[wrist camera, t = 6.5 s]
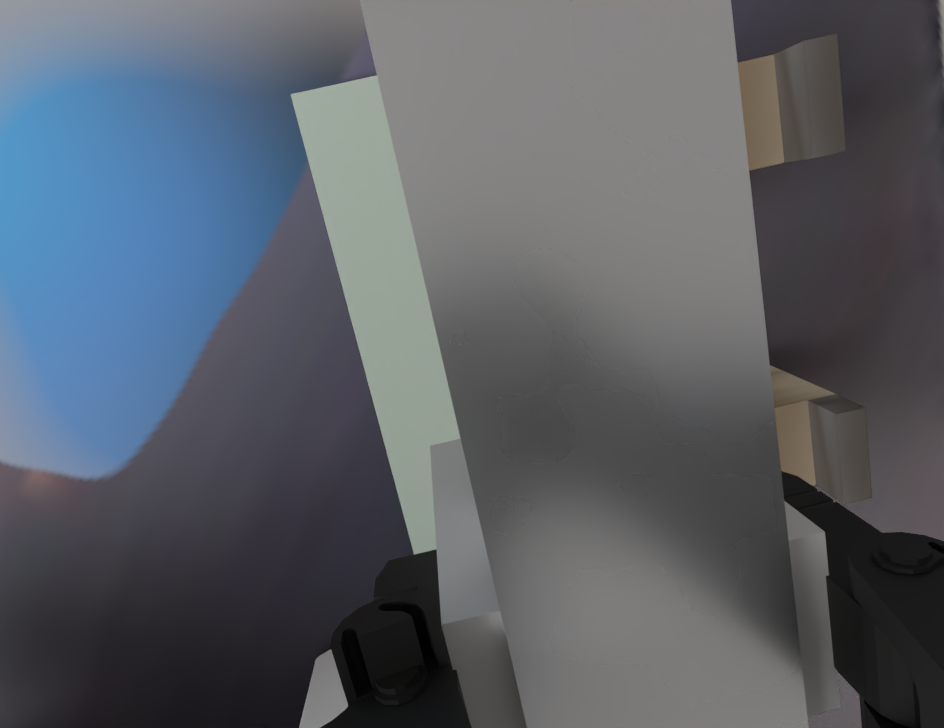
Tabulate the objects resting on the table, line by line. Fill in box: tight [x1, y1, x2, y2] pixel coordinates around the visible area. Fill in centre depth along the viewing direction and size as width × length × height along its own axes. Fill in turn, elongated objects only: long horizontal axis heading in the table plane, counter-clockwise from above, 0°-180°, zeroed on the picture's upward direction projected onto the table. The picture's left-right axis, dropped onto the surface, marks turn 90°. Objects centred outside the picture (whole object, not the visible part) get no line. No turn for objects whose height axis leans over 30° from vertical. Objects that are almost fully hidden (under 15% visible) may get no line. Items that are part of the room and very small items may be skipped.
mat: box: [291, 75, 461, 554], centre depth 35 cm, size 12×26×1 cm, turn 12°
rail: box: [360, 0, 809, 728], centre depth 10 cm, size 22×4×4 cm, turn 12°
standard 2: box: [738, 34, 846, 171], centre depth 28 cm, size 8×6×11 cm
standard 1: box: [770, 365, 872, 504], centre depth 32 cm, size 8×6×11 cm
